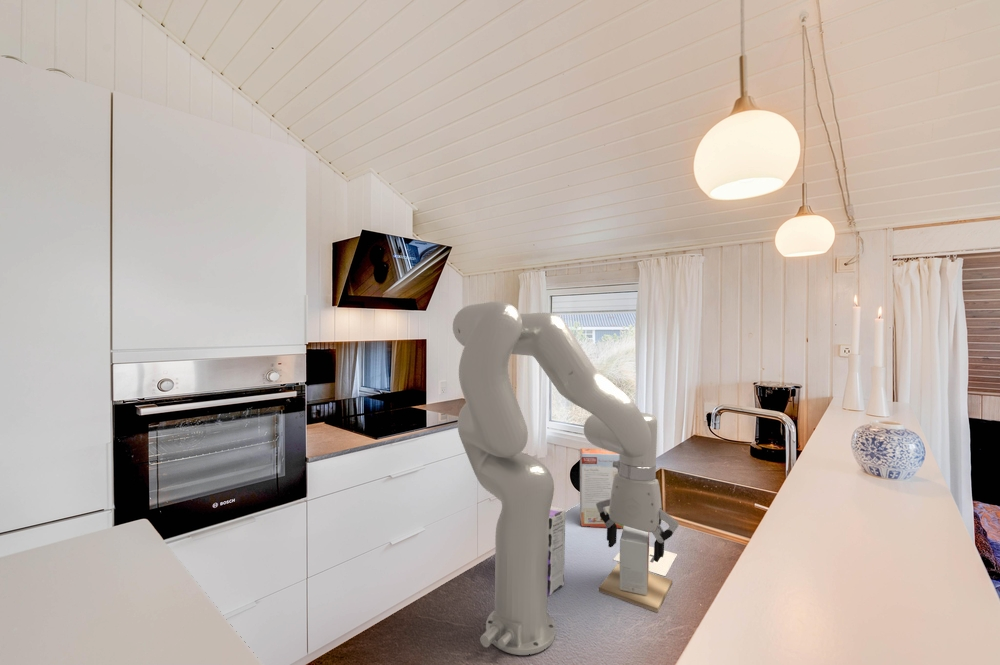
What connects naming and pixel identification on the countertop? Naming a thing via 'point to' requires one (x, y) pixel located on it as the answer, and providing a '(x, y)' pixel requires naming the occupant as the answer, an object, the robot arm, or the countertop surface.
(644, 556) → the small box
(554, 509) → the candy box
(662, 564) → the card
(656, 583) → the coaster
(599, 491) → the cracker box
